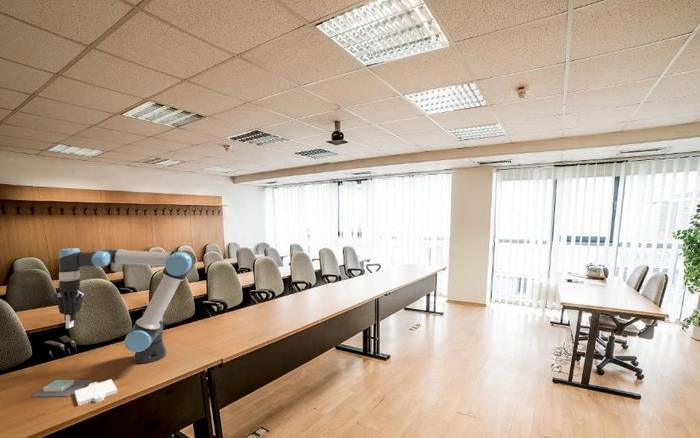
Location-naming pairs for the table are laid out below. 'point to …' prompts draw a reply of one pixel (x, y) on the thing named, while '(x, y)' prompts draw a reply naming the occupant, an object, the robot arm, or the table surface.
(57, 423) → the table surface
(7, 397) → the table surface
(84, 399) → the mounting plate
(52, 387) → the tile
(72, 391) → the mat
